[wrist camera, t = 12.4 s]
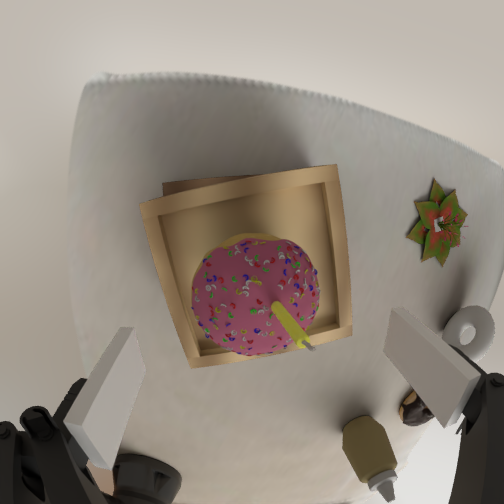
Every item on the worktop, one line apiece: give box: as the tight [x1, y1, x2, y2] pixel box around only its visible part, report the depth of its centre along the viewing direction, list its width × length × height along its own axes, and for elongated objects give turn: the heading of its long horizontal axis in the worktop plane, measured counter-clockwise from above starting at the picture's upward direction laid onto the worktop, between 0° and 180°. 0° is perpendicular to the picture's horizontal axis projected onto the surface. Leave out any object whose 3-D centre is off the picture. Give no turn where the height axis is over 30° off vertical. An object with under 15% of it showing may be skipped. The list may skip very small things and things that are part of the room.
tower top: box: [139, 164, 352, 369], centre depth 24 cm, size 15×15×5 cm
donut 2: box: [442, 306, 495, 363], centre depth 31 cm, size 10×3×10 cm, turn 145°
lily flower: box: [406, 179, 468, 268], centre depth 30 cm, size 12×12×5 cm
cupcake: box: [191, 233, 321, 356], centre depth 17 cm, size 9×8×12 cm
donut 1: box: [399, 390, 435, 426], centre depth 39 cm, size 11×12×4 cm
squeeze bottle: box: [342, 416, 398, 503], centre depth 32 cm, size 8×8×18 cm
